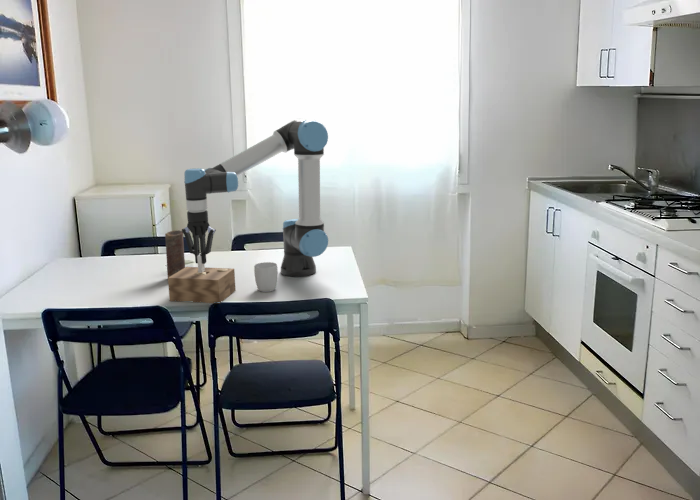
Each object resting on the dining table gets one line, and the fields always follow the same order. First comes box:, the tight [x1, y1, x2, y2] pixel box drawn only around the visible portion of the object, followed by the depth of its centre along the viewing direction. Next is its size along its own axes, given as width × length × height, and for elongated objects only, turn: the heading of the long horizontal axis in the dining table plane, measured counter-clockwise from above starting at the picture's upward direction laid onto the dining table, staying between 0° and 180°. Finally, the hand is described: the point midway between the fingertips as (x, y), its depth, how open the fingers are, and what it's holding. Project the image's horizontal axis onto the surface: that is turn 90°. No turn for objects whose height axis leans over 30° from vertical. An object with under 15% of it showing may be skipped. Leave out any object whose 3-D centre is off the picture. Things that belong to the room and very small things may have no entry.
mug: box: [253, 261, 279, 293], centre depth 266 cm, size 13×9×10 cm
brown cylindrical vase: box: [164, 229, 186, 278], centre depth 281 cm, size 8×7×20 cm
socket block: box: [167, 266, 237, 304], centre depth 258 cm, size 20×16×9 cm
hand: (201, 271), depth 256 cm, fingers closed
